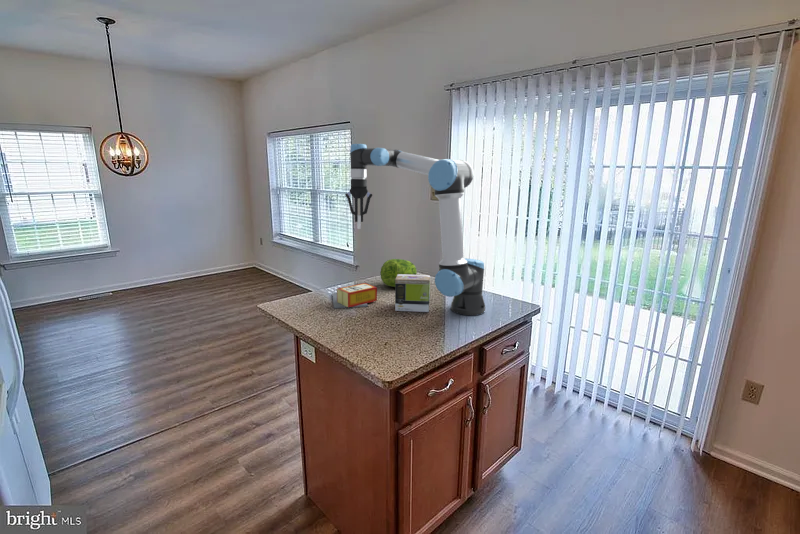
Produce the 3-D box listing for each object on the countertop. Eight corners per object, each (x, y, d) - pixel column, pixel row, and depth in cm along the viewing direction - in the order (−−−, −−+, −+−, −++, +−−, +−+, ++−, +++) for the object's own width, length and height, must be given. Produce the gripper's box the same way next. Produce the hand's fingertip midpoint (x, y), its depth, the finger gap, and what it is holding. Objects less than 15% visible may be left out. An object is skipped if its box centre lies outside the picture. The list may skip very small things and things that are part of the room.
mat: (367, 306, 177) (367, 305, 177) (334, 308, 174) (334, 306, 174) (362, 293, 196) (362, 291, 196) (332, 294, 193) (332, 293, 193)
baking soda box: (376, 287, 182) (347, 293, 171) (376, 300, 183) (347, 307, 173) (365, 282, 189) (336, 288, 178) (365, 295, 190) (336, 302, 180)
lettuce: (422, 289, 214) (423, 262, 215) (403, 286, 196) (405, 256, 197) (396, 289, 222) (398, 262, 223) (376, 286, 204) (378, 257, 205)
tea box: (429, 305, 181) (430, 274, 177) (428, 313, 171) (430, 280, 167) (396, 303, 182) (397, 272, 178) (394, 311, 172) (395, 278, 169)
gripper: (371, 178, 188) (371, 227, 194) (344, 178, 186) (344, 227, 191) (373, 178, 181) (373, 229, 187) (345, 178, 179) (345, 230, 184)
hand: (359, 228), depth 189 cm, fingers closed
